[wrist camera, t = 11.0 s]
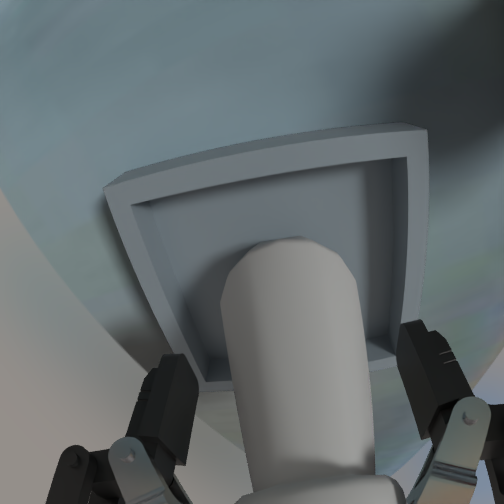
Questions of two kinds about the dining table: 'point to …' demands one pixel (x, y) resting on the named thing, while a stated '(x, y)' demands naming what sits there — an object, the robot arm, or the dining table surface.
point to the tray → (279, 228)
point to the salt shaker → (302, 377)
